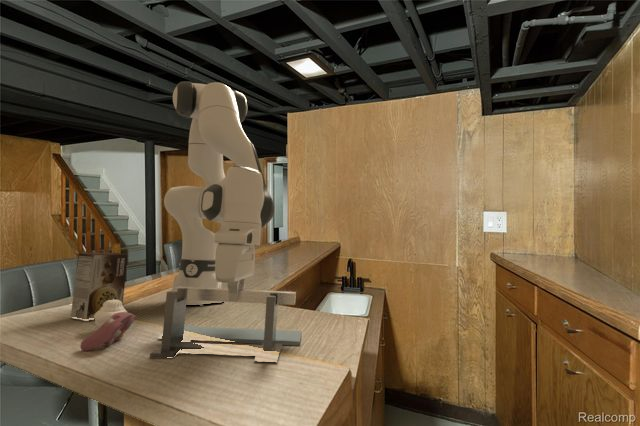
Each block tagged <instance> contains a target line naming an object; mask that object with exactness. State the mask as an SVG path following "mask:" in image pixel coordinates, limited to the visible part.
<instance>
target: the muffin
mask: <svg viewBox="0 0 640 426" xmlns="http://www.w3.org/2000/svg"><path fill="white" fill-rule="evenodd" d="M119 312H127V313H129V312H128V311H127V310H126V309H125V307H124V306H122V302H121V301H120V300H114V299H112V300H108V301H106V302H104V303H103V307H101V308H100V310H99V311H97V312H96V313H95V315H94V319H95V320H94V321H95V322H94V323H95V325H96V326H97V330H98V329H99V328H100V327H101V326H102V325H103V324H104V323H105V322H106V321H108V320H109V319H110V318H111V317H112V316H113V315H114V314H116V313H119Z"/></svg>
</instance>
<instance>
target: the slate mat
mask: <svg viewBox="0 0 640 426" xmlns="http://www.w3.org/2000/svg"><path fill="white" fill-rule="evenodd" d="M184 330H185V331H189V332H194V333H197V334H201V335H206V336H210V337H215V338H220V339H225V340H230V341H235V342H239V343H238V344H250V345H261V344H262V343H264V331H265V328H244V327H243V328H241V327H240V328H239V327H219V326H216V327H215V326H196V325H195V326H194V325H193V326H192V325H184ZM301 339H302V330H290V329H289V330H287V329H276V340H275V344H282V346H298V347H299V346H300V345H301Z"/></svg>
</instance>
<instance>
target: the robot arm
mask: <svg viewBox="0 0 640 426" xmlns="http://www.w3.org/2000/svg"><path fill="white" fill-rule="evenodd" d="M247 102H248V101H247V98H246V96H245V94H243V93H242V92H239V91H237V90H232V89H231V87H229V86H227V85H226V84H224V83H223V82H218V81H217V82H216V81H215V82H209V83H207V84H204V83H196V82H192V81H180V82H179V83H177V84H176V87H175V88H174V90H173V94H172V103H173V106H174V108H175V112H176V113H177V114H178V115H179V116H181V117H184V118H187V119H192V120H191V124H190V128H189V136H188V150H187V151H188V152H187V153H188V155H187V166H188V168H189V170H190V171H191V172H192V173H194V174H195V175H196V176H198V177H200V178H202V179H203V182H204V185H205V186H197V185H196V186H195V185H193V186H192V185H181V186H174V187H170V188H169V189H168V190H167V191H166V193H165V196H164V198H163V204H164V205H163V206H164V208H165V211H166V212H168V214H169V215H171V216H172V217H173V218H174V219H175V221H176V222H177V224H178V226H179V227H180V231H181V238H182V245H181V247H182V248H181V258H180V259H179V264H178V270H179V271H178V273H177V274H176V275H174V277H173V281H172V288H171V291H175V288H176V287H180V286H182V287H202V288H222V284H223V283H227V289H228V291H229V299H228V300H229V301H230V302H231V303H237V302H236V301H237V300H238V298H239V292H238V289H243V290H245V286H246V280H247V278H249V277H252V276H254V274H255V269H256V268H255V267H256V264H255V263H256V247H255V246H261V236H262V228H263V227H265V226H266V225H268V224H269V223H270V222H271V220H272V219H273V217H274V214H275V205H274V201H273V198H272V196H271V194H270V192H269V190H268V187H267V183H266V181H265V178H264V174H263V170H262V168H261V167H262V166H261V163H260V160H259V157H258V154H257V150H256V148H255V146H254V144H253V142H251V140H250V139H249V138H248V137H247V134H246V133H245V131H244V129H243V127H242V123H243V122H244V121H245V119H246V116H247V114H248V103H247ZM224 157H225V158H228V159H229V160H230V161H232V162H233V163H234V164H235V165H232V166H230V167H228V169H227V172H226V174H225V171H224ZM204 219H205V220H208V221H210V222H213V223H217V224H220V228H219V230H217V231H216V232H213V231H212V230H209V229H208V228H206V227H205V226H204V224H203V220H204ZM206 302H210V301H204V300H187V301H186V305H195V304H202V303H206ZM230 302H229V303H230Z"/></svg>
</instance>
